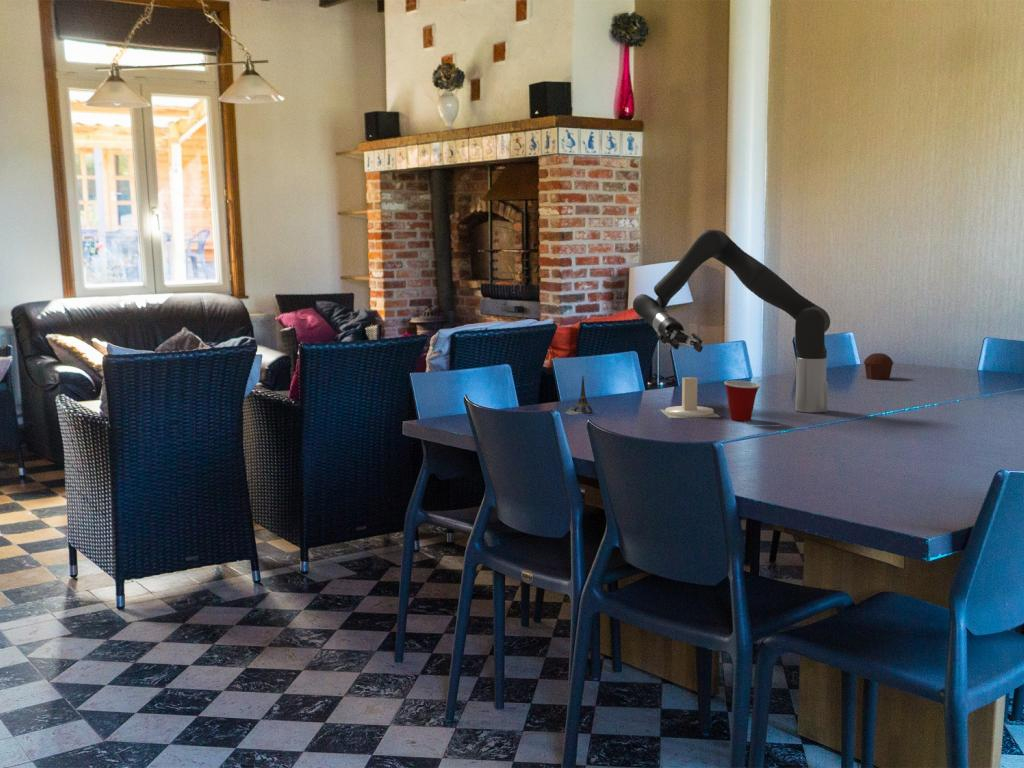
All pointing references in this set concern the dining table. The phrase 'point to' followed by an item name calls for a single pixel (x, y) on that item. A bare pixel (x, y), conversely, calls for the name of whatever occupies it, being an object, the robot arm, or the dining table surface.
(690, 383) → the lid
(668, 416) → the mat
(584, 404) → the eiffel tower figurine
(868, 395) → the dining table surface
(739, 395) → the plastic cup
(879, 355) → the muffin
